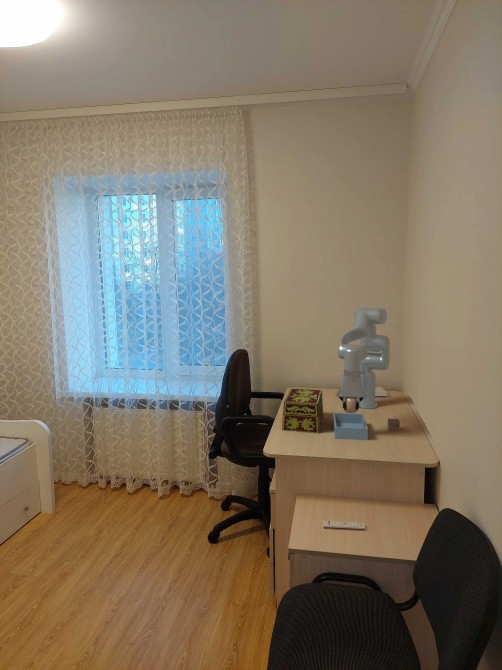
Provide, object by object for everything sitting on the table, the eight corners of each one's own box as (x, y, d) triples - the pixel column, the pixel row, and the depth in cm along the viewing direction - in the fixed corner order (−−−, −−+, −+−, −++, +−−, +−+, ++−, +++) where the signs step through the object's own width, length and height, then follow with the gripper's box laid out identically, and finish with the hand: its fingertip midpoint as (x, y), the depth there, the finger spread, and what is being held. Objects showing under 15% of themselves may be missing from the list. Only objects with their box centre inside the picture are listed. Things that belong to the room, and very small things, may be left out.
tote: (333, 423, 239) (333, 412, 238) (362, 424, 237) (363, 414, 236) (334, 438, 218) (335, 427, 217) (367, 440, 216) (367, 428, 215)
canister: (345, 409, 224) (345, 395, 222) (355, 410, 223) (356, 396, 222) (345, 413, 219) (346, 398, 218) (356, 413, 218) (356, 399, 217)
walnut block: (387, 427, 232) (387, 418, 231) (397, 428, 231) (398, 418, 230) (389, 431, 227) (389, 421, 226) (399, 431, 226) (399, 422, 226)
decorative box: (289, 413, 256) (290, 387, 253) (323, 415, 251) (323, 389, 249) (281, 430, 229) (281, 402, 227) (318, 433, 225) (319, 404, 222)
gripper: (369, 372, 220) (367, 408, 223) (333, 371, 223) (332, 407, 226) (371, 375, 213) (369, 413, 216) (334, 374, 215) (333, 411, 218)
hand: (350, 409), depth 221 cm, fingers closed on canister, 5 cm apart
